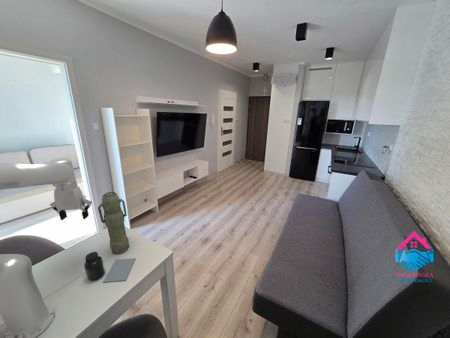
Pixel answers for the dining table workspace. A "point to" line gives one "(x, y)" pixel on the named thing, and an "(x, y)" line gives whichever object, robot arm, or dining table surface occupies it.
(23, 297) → the robot arm
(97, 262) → the supplement bottle
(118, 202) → the thermos
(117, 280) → the mat
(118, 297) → the dining table surface
